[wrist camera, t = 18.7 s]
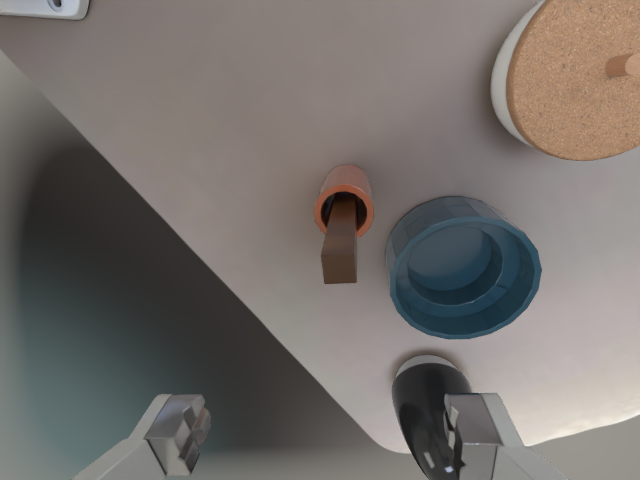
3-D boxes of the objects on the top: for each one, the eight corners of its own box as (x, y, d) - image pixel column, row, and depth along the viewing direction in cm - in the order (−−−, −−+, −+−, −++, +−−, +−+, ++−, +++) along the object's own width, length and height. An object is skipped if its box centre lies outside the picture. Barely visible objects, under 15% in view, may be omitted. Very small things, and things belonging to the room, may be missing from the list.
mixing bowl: (386, 303, 42) (392, 340, 35) (382, 200, 36) (387, 222, 30) (502, 299, 40) (529, 338, 33) (516, 189, 34) (553, 210, 28)
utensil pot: (326, 210, 37) (318, 242, 29) (321, 166, 35) (310, 187, 27) (371, 207, 37) (375, 238, 28) (368, 161, 34) (372, 182, 26)
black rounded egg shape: (458, 397, 47) (500, 521, 33) (387, 393, 48) (399, 511, 35) (468, 344, 43) (520, 460, 29) (390, 341, 44) (405, 452, 31)
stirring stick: (339, 198, 36) (324, 284, 20) (337, 181, 35) (320, 255, 19) (357, 197, 36) (356, 282, 19) (355, 180, 35) (354, 253, 19)
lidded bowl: (504, -23, 27) (590, -92, 17) (652, 6, 27) (828, -47, 17) (451, 130, 32) (493, 146, 22) (573, 156, 32) (671, 183, 22)
